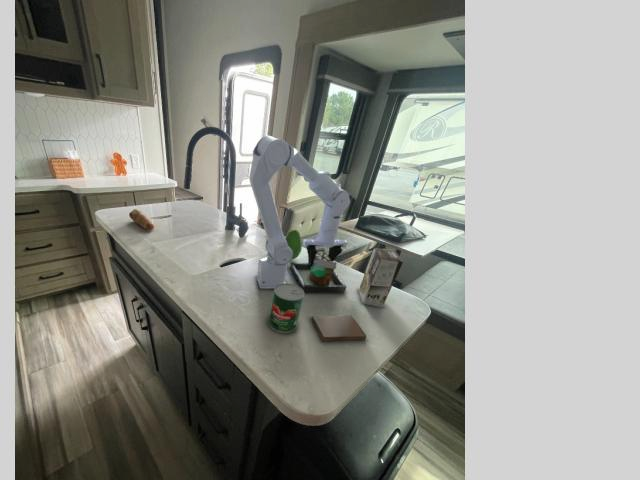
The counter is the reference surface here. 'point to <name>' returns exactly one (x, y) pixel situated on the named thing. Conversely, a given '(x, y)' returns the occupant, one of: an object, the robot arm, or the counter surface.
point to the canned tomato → (286, 307)
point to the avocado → (294, 242)
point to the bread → (141, 219)
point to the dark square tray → (337, 288)
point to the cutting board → (338, 328)
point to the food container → (322, 268)
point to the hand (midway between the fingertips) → (318, 265)
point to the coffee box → (379, 276)
